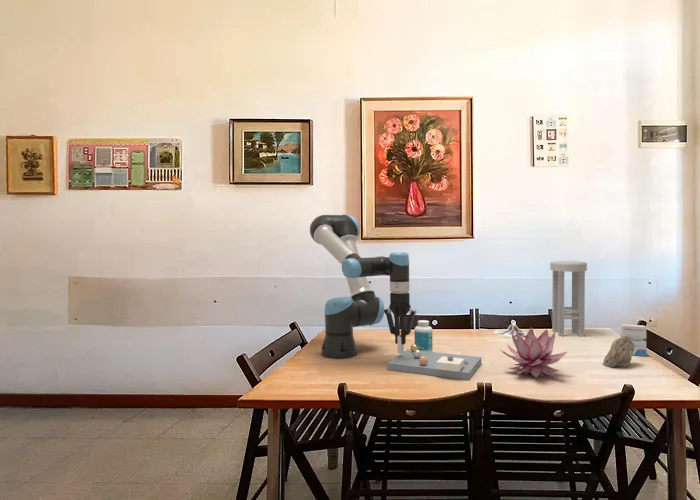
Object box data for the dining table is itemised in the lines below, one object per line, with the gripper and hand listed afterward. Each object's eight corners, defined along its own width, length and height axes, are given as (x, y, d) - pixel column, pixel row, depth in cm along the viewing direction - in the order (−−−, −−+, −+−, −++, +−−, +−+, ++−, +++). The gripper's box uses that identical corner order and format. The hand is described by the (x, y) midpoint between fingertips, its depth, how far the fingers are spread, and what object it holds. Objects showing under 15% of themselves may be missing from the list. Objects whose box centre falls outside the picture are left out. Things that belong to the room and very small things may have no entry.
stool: (546, 330, 237) (547, 261, 236) (579, 330, 235) (579, 260, 234) (555, 337, 222) (556, 263, 221) (590, 337, 220) (591, 263, 219)
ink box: (644, 353, 191) (644, 325, 191) (646, 356, 187) (646, 327, 186) (620, 351, 195) (620, 323, 194) (621, 354, 190) (622, 325, 190)
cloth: (544, 338, 222) (544, 325, 222) (510, 341, 218) (510, 328, 217) (516, 329, 244) (516, 317, 244) (484, 331, 239) (484, 319, 239)
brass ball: (409, 352, 189) (409, 344, 189) (411, 350, 192) (411, 342, 192) (416, 353, 187) (416, 345, 187) (419, 351, 190) (419, 343, 190)
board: (387, 369, 175) (387, 363, 174) (407, 355, 194) (407, 349, 194) (468, 380, 161) (468, 373, 161) (481, 363, 181) (481, 357, 181)
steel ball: (412, 358, 180) (411, 350, 180) (414, 356, 183) (414, 348, 183) (420, 359, 179) (419, 351, 178) (422, 357, 181) (422, 349, 181)
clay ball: (417, 365, 171) (417, 356, 170) (420, 363, 173) (420, 354, 173) (426, 366, 169) (426, 357, 169) (429, 364, 172) (428, 355, 172)
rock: (628, 355, 167) (605, 344, 172) (619, 378, 171) (597, 366, 177) (643, 340, 175) (620, 330, 181) (634, 362, 180) (613, 352, 185)
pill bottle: (432, 355, 193) (432, 323, 192) (414, 355, 194) (413, 322, 194) (432, 351, 200) (432, 319, 200) (415, 350, 202) (414, 319, 201)
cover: (436, 369, 165) (436, 358, 165) (442, 363, 172) (442, 353, 172) (458, 371, 161) (458, 361, 161) (464, 365, 168) (464, 355, 168)
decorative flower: (560, 386, 153) (561, 341, 152) (494, 376, 164) (494, 334, 164) (569, 369, 171) (569, 328, 170) (509, 361, 182) (509, 323, 182)
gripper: (380, 292, 182) (381, 352, 183) (412, 294, 176) (413, 356, 177) (387, 290, 189) (388, 348, 190) (418, 291, 183) (419, 351, 184)
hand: (400, 352), depth 183 cm, fingers closed
